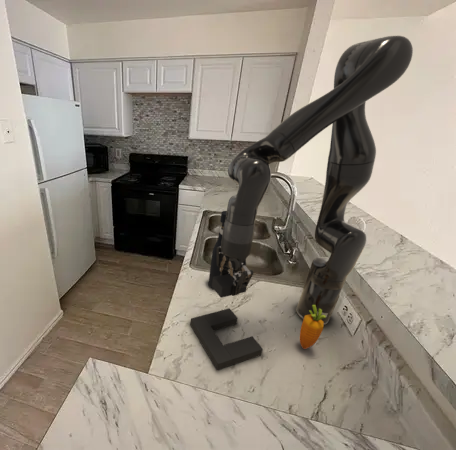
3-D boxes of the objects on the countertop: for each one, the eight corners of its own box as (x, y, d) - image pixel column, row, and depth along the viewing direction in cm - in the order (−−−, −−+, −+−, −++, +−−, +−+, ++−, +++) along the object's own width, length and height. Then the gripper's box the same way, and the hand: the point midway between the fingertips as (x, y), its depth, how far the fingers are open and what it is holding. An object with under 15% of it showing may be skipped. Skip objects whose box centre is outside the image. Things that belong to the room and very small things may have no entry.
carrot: (316, 357, 70) (333, 317, 63) (296, 354, 71) (311, 314, 64) (310, 342, 74) (325, 303, 68) (291, 339, 75) (305, 300, 68)
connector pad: (235, 281, 76) (237, 271, 74) (245, 291, 71) (247, 282, 70) (211, 286, 73) (212, 276, 72) (220, 297, 69) (222, 287, 68)
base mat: (228, 313, 84) (229, 308, 83) (261, 355, 70) (263, 348, 69) (190, 324, 80) (190, 318, 79) (217, 370, 66) (218, 363, 65)
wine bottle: (209, 290, 94) (219, 216, 81) (207, 279, 100) (216, 208, 87) (227, 291, 94) (239, 217, 81) (223, 280, 100) (235, 209, 87)
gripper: (269, 247, 60) (255, 302, 67) (234, 222, 72) (226, 271, 79) (242, 252, 58) (231, 308, 65) (210, 225, 70) (204, 275, 77)
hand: (228, 287), depth 72 cm, fingers closed on connector pad, 5 cm apart
